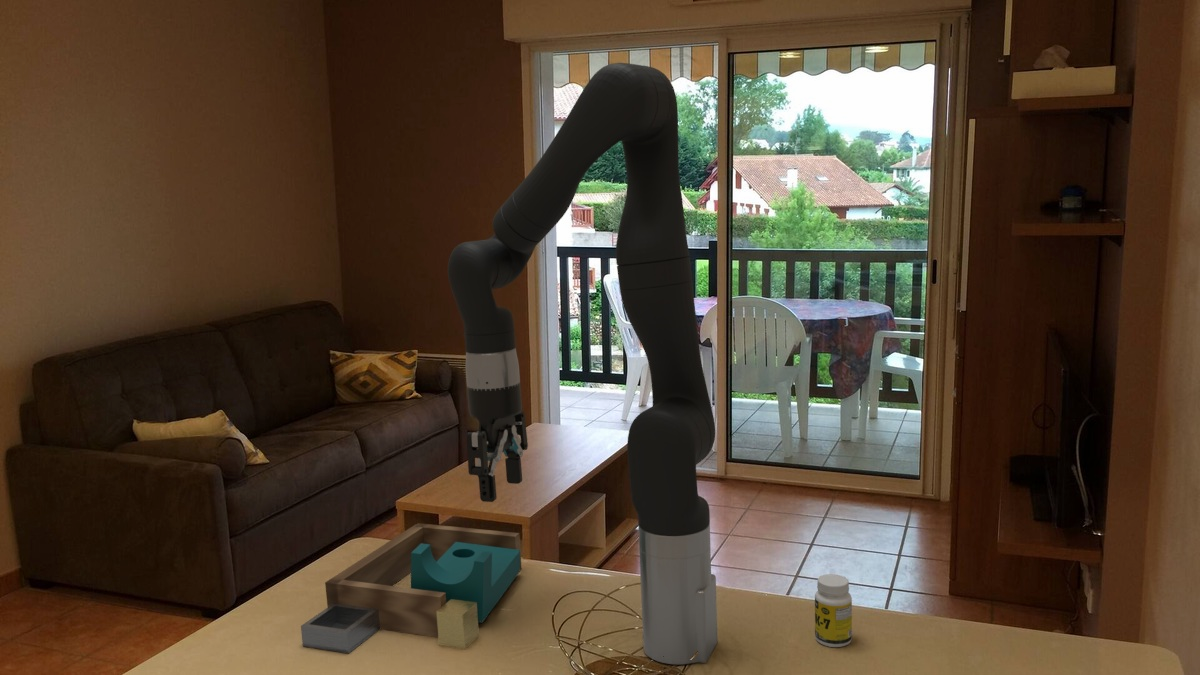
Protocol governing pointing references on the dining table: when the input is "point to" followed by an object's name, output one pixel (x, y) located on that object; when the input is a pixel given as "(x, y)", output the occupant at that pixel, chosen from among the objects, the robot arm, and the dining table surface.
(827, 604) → the supplement bottle
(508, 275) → the robot arm
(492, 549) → the teal l-shaped bracket
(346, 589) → the bracket
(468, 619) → the key block
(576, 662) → the dining table surface
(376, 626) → the tray
